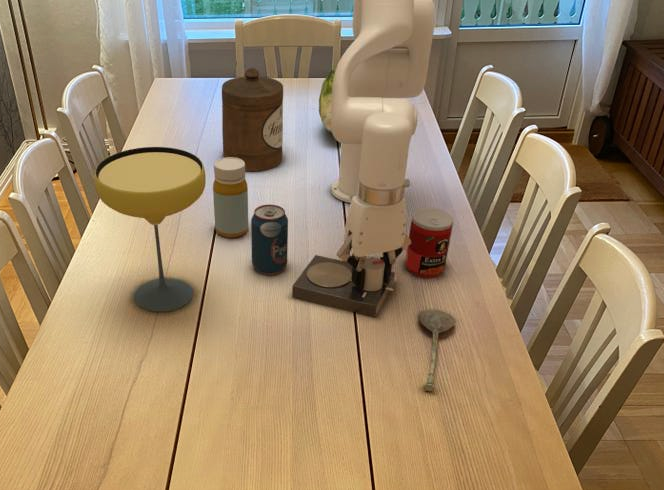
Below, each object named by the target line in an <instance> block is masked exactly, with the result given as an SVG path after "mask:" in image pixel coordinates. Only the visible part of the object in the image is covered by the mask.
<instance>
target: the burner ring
mask: <svg viewBox="0 0 664 490" xmlns="http://www.w3.org/2000/svg"><path fill="white" fill-rule="evenodd" d="M307 278H308V280H309V281H310V282H311V283H313V284H315V285H317V286H320V287H325V288H337V287H341V286H344V285H346V284H348V283H349V282H350V280H351V278H352V273H351V271H350V270H349V269H348V268H347V267H345V266H343V265H341V264H337V263H331V262H325V263H319V264H315V265H313V266H312V267H310V268H309V269H308V271H307Z"/></svg>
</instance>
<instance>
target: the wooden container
mask: <svg viewBox="0 0 664 490" xmlns="http://www.w3.org/2000/svg"><path fill="white" fill-rule="evenodd" d="M221 109H222V110H221V121H222V122H221V124H222V125H221V126H222V128H221V130H222V155H223V156H222V158H227V157H233V158H239V159H241V160H243V161H244V163H245V172H261V171H266V170H270V169H274V168H275V167H277V166H278V165H280V164H281V163H282V161H283V141H284V140H283V139H284V137H283V136H284V84H283V83H282V82H280V81H279V80H277V79H275V78H272V77H267V76H260V71H259V70H258V69H256V68H254V67H251V68H248V69H246V70H245V72H244V76H239V77H234V78H231V79H228V80H226V81H224V82H223V83H222V85H221Z"/></svg>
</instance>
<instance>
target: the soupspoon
mask: <svg viewBox="0 0 664 490" xmlns="http://www.w3.org/2000/svg"><path fill="white" fill-rule="evenodd" d="M417 318H418V320H419V322H420V323H421V324H422V325H423V326H424V327H425V328H427V330H429V331H430V332H431V333H432V336H431V338H432V339H431V353H430V365H429V373H428V374H427V375H428V377H427V379H426V382H425V384H423V386H422V388H423V390H425V391H427V392H433V391H434V390H435V389H436V388H435V386H434V377H435V368H436V367H435V366H436V360H437V348H438V341H439V334H440V333H444V332H446V331H449V330H450V329H451V328H453V327H454V326H455V325H456V322H457V321H456V319H455V317H454V316H452V314H450V313H448V312H445V311H442V310H438V309H427V310H423V311H421V312H419V313H418V314H417Z"/></svg>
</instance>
